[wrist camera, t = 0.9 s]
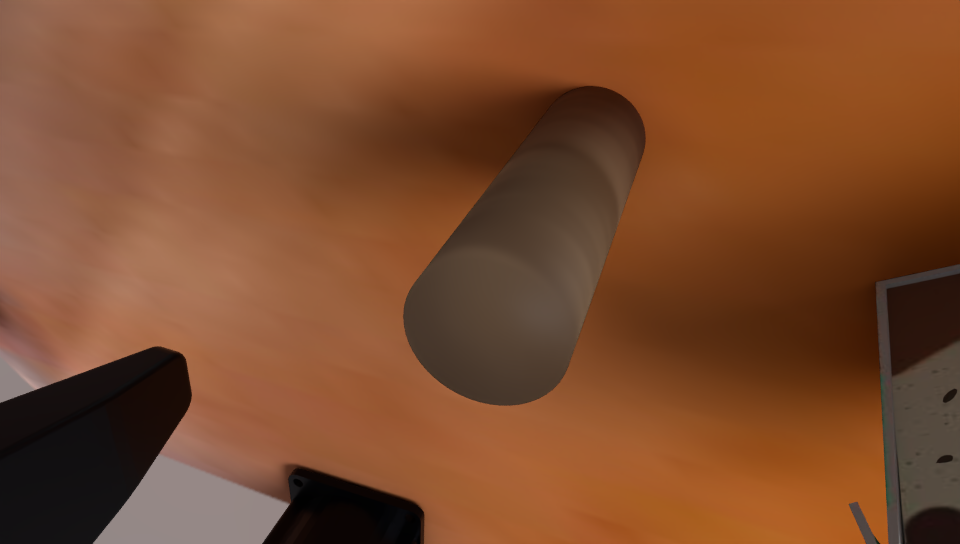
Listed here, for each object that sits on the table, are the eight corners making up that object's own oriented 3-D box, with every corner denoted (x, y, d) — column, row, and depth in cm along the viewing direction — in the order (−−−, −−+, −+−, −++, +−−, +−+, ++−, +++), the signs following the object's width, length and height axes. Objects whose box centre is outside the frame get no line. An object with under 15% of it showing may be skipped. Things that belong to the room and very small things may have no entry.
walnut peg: (536, 177, 21) (403, 380, 13) (546, 78, 20) (403, 242, 12) (635, 195, 21) (559, 423, 12) (654, 95, 19) (582, 282, 11)
